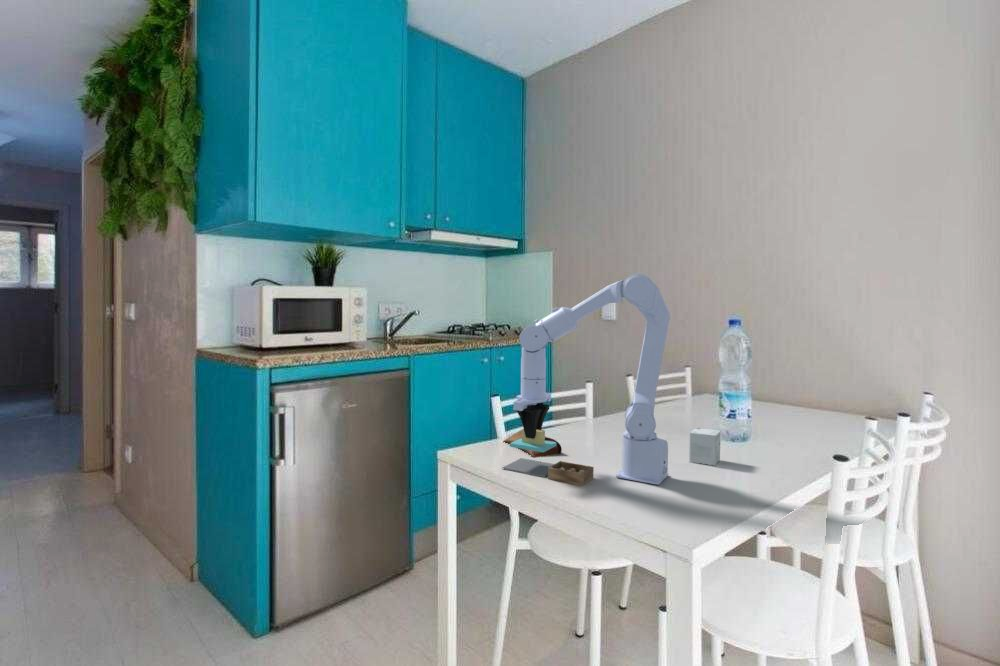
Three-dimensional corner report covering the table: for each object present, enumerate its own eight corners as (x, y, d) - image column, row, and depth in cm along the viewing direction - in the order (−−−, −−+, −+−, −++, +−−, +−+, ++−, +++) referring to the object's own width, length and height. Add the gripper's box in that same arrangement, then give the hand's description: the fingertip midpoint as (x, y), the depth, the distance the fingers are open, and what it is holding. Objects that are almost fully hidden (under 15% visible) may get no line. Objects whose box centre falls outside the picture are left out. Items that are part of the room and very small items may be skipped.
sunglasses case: (499, 440, 146) (510, 419, 147) (518, 451, 149) (528, 429, 150) (533, 457, 130) (546, 433, 131) (554, 469, 133) (565, 444, 135)
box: (593, 477, 116) (593, 466, 116) (582, 485, 111) (582, 474, 110) (559, 471, 120) (560, 461, 120) (548, 478, 115) (548, 467, 115)
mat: (562, 466, 123) (562, 465, 123) (545, 477, 116) (545, 476, 116) (521, 459, 129) (521, 458, 129) (501, 468, 121) (501, 467, 121)
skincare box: (715, 466, 125) (716, 435, 124) (688, 462, 128) (689, 432, 127) (720, 460, 130) (721, 430, 129) (694, 456, 133) (695, 427, 133)
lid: (556, 445, 123) (556, 429, 122) (543, 452, 117) (543, 435, 117) (523, 440, 127) (524, 424, 127) (509, 446, 122) (509, 430, 121)
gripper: (532, 373, 130) (532, 428, 130) (501, 380, 117) (501, 441, 118) (559, 375, 126) (558, 432, 127) (530, 382, 114) (529, 445, 114)
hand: (532, 436), depth 122 cm, fingers closed on lid, 2 cm apart
